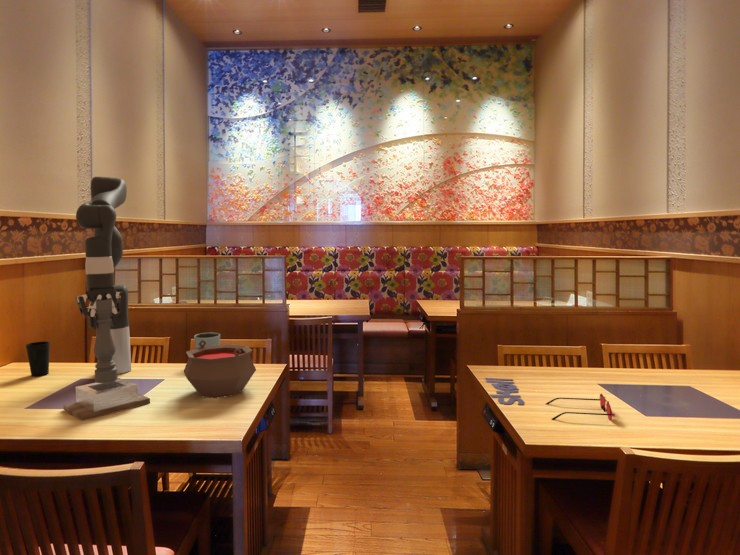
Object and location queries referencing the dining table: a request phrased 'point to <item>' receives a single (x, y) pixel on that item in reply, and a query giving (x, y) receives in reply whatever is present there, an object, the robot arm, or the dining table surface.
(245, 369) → the brown cauldron
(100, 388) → the square collar
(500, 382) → the signage
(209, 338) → the grey cylindrical container
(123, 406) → the socket board
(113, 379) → the candle holder
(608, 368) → the dining table surface
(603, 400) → the glasses
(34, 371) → the cup
